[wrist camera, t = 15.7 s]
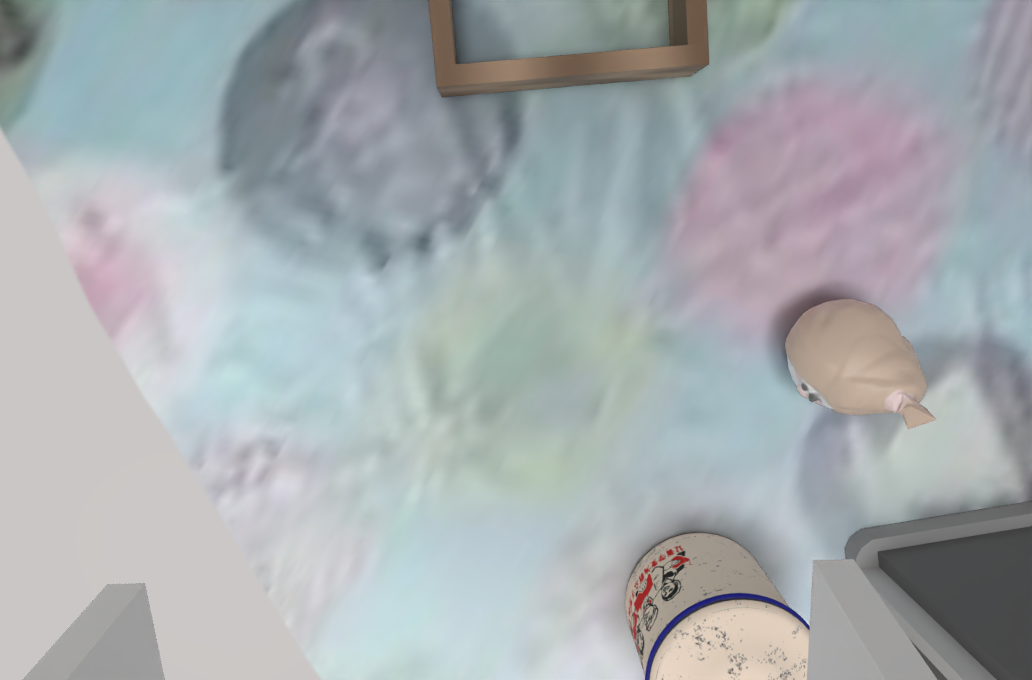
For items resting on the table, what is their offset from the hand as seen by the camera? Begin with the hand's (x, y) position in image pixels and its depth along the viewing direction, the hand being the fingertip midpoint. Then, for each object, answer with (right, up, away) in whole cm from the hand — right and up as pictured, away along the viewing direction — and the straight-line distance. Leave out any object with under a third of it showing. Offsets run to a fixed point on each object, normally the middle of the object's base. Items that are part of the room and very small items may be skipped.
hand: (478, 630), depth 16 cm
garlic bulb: (+19, +5, +31) cm, 37 cm away
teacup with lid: (+11, -11, +34) cm, 37 cm away
